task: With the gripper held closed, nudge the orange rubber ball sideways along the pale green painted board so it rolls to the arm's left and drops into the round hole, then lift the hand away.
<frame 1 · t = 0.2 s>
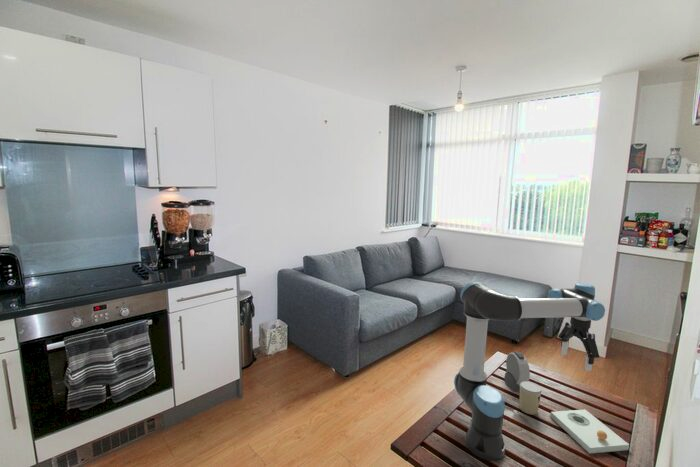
hand: (575, 362, 153), 28 cm above the table, fingers open, 13 cm apart
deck: (586, 432, 147), on the table
ball: (601, 435, 140), point 4 cm above the table, touching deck
alarm clock: (515, 384, 182), on the table
coffee cup: (528, 409, 162), on the table
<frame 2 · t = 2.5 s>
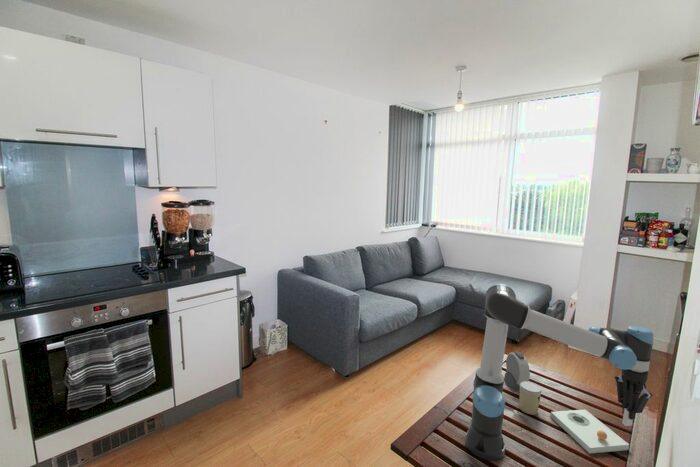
hand: (627, 424, 129), 16 cm above the table, fingers closed
nothing on the table moved.
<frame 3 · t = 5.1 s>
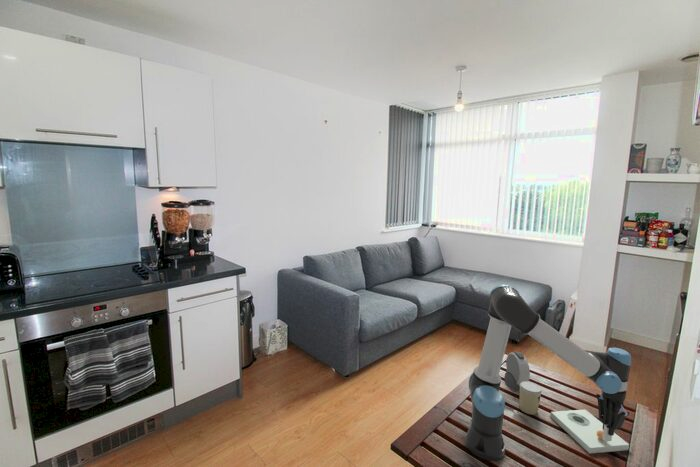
hand: (606, 439, 138), 4 cm above the table, fingers closed
ball: (601, 435, 140), point 4 cm above the table, touching gripper
everything else where it was.
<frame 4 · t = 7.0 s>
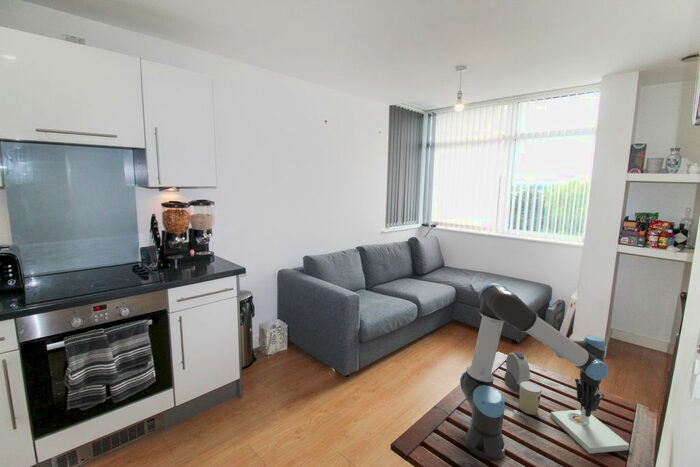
hand: (584, 420, 149), 4 cm above the table, fingers closed
ball: (578, 421, 152), point 2 cm above the table, tilted 25°
everything else where it was.
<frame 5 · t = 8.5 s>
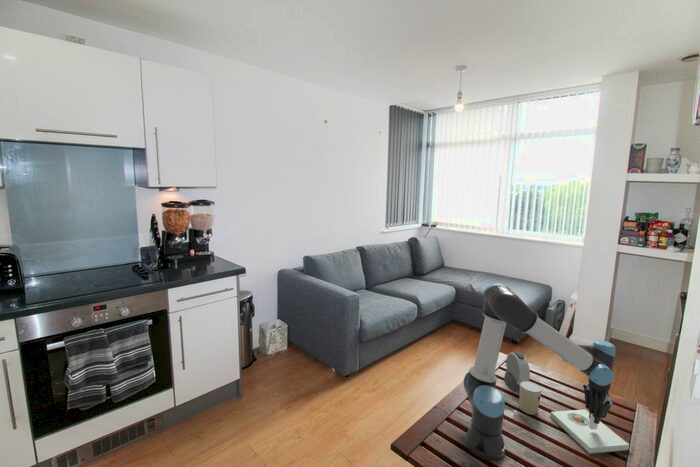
hand: (592, 428, 144), 4 cm above the table, fingers closed
ball: (577, 420, 152), point 2 cm above the table, tilted 54°, touching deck
everything else where it was.
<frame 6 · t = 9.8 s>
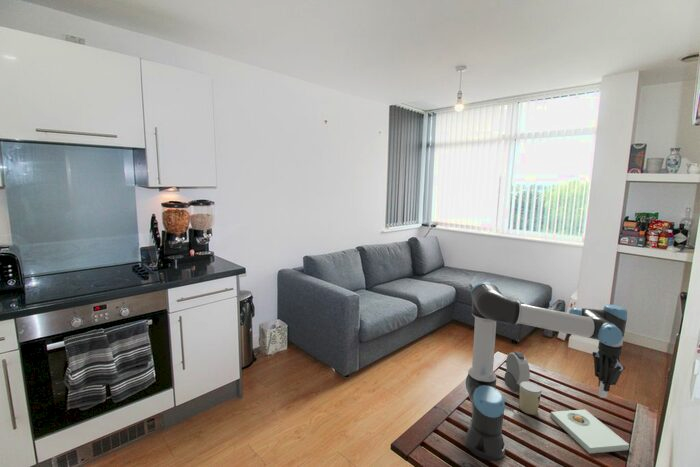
hand: (602, 396, 139), 21 cm above the table, fingers closed
ball: (577, 420, 152), point 2 cm above the table, tilted 51°
everything else where it was.
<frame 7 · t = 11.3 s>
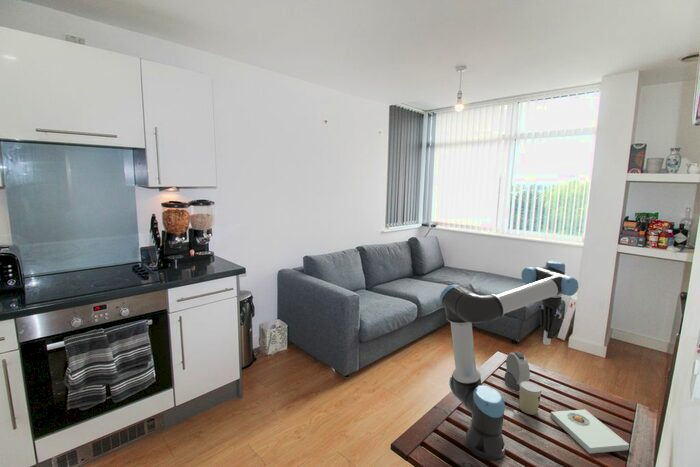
hand: (546, 343, 156), 34 cm above the table, fingers closed
nothing on the table moved.
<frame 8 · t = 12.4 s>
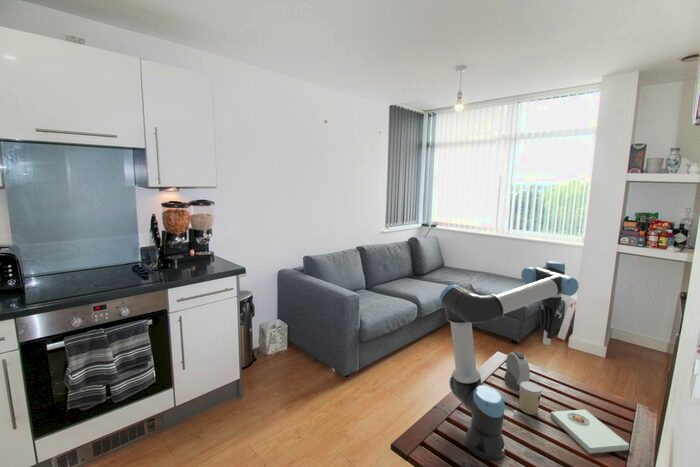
hand: (546, 343, 156), 34 cm above the table, fingers closed
nothing on the table moved.
at the end: ball 0.2 cm from the target spot in the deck, point 1.7 cm above the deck's base; ball touching table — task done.
